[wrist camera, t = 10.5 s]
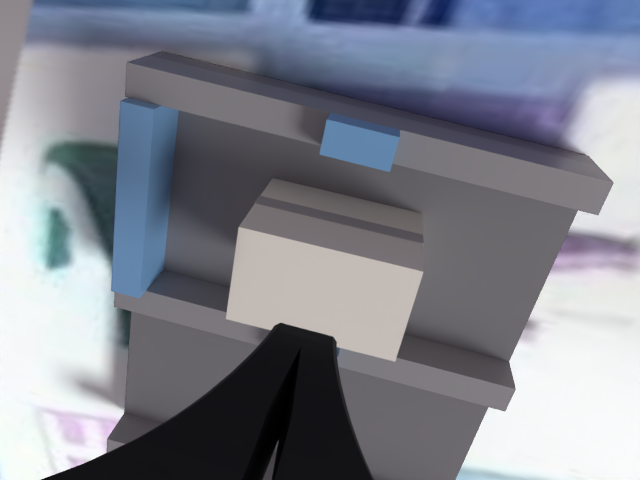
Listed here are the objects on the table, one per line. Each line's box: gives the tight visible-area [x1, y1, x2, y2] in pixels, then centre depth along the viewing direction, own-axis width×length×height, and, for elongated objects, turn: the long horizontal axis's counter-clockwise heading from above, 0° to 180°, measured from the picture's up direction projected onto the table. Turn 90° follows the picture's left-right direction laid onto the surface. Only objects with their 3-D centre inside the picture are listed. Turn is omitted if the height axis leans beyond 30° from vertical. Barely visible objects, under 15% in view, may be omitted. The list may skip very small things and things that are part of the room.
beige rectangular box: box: [226, 178, 424, 362], centre depth 17 cm, size 5×3×4 cm, turn 79°
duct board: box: [107, 51, 613, 480], centre depth 20 cm, size 14×16×3 cm
